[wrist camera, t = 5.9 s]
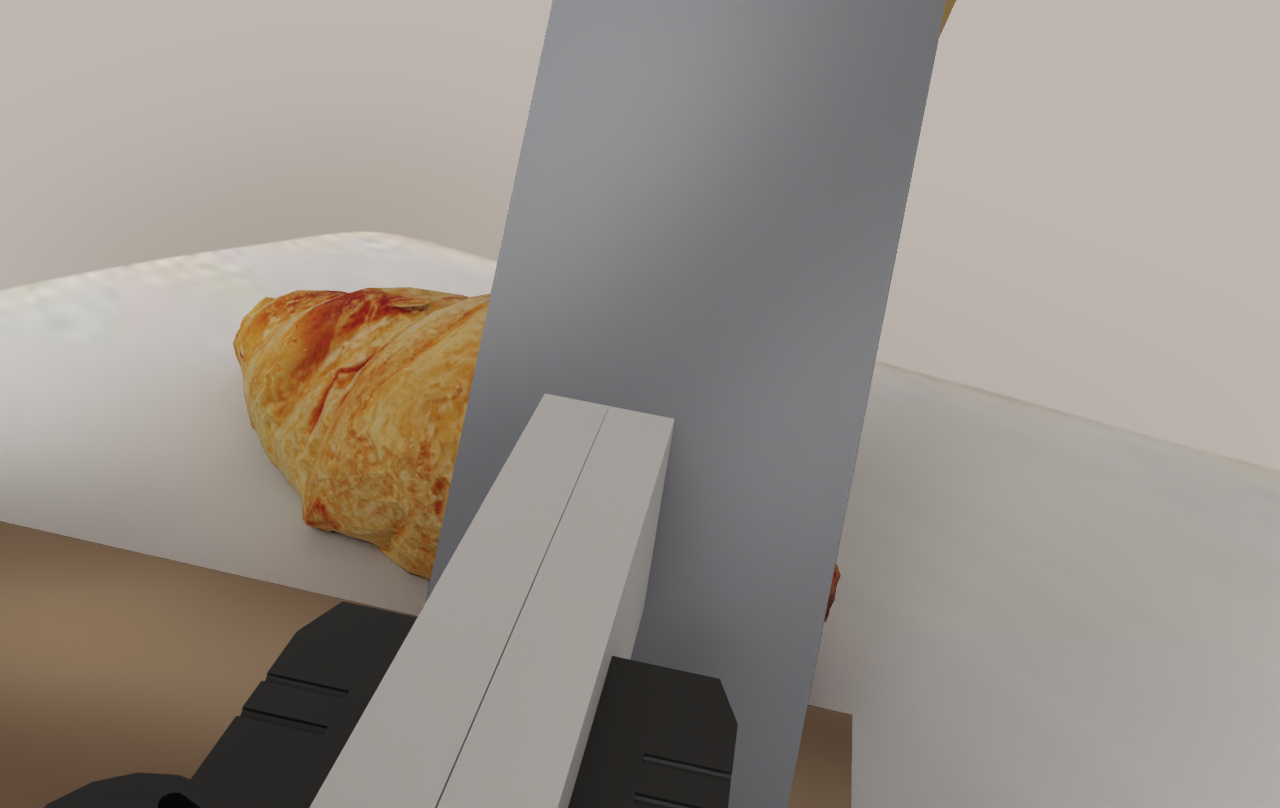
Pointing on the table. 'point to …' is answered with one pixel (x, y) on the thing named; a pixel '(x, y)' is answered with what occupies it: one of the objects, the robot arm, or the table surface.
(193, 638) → the wooden base board
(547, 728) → the robot arm
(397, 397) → the croissant
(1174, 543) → the table surface
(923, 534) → the table surface
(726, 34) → the lever
